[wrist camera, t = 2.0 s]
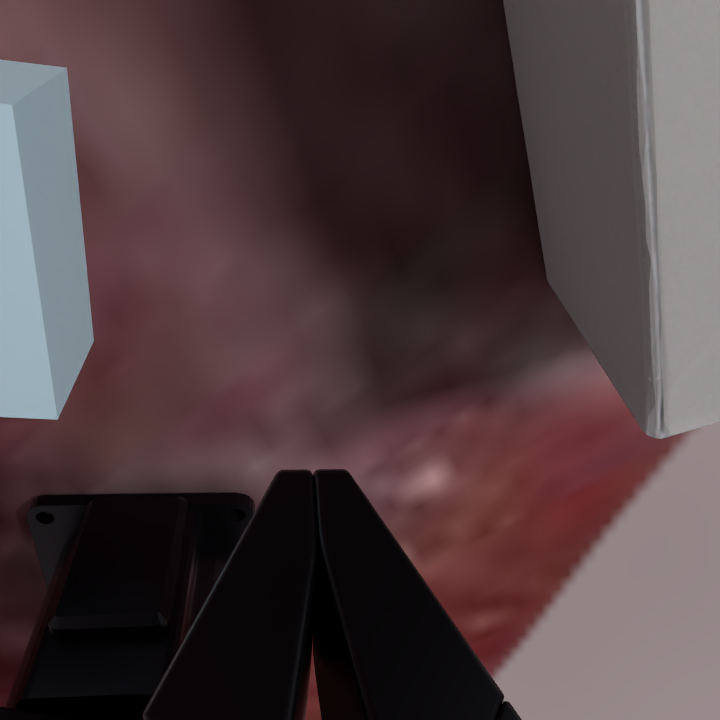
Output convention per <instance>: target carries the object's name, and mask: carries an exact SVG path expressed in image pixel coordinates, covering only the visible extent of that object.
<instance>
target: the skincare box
mask: <svg viewBox="0 0 720 720" xmlns="http://www.w3.org/2000/svg"><path fill="white" fill-rule="evenodd" d="M503 4H504V10H505V17H506V23H507V30H508V36H509V42H510V48H511V54H512V60H513V67H514V74H515V82H516V88H517V94H518V100H519V106H520V112H521V118H522V125H523V131H524V137H525V143H526V150H527V156H528V162H529V168H530V174H531V181H532V187H533V194H534V200H535V207H536V213H537V220H538V227H539V233H540V239H541V245H542V251H543V257H544V263H545V270H546V276H547V280H548V283H549V285H550V286H551V288H552V289H553V291H554V292H555V294H556V295H557V297H558V298H559V300H560V301H561V303H562V304H563V306H564V308H565V309H566V311H567V312H568V314H569V316H570V317H571V319H572V320H573V322H574V323H575V325H576V327H577V328H578V330H579V331H580V333H581V335H582V336H583V338H584V339H585V341H586V342H587V344H588V346H589V347H590V349H591V350H592V352H593V354H594V355H595V357H596V358H597V360H598V361H599V363H600V365H601V366H602V368H603V369H604V371H605V373H606V374H607V376H608V377H609V379H610V380H611V382H612V384H613V385H614V387H615V388H616V390H617V391H618V393H619V395H620V396H621V398H622V399H623V401H624V402H625V404H626V405H627V407H628V408H629V410H630V411H631V413H632V415H633V416H634V418H635V419H636V421H637V422H638V424H639V425H640V427H641V428H642V430H643V432H644V433H646V434H647V435H648V436H650V437H653V438H658V439H662V438H666V437H669V436H673V435H676V434H680V433H683V432H687V431H690V430H694V429H697V428H701V427H704V426H707V425H711V424H714V423H718V422H720V0H503Z"/></svg>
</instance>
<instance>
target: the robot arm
mask: <svg viewBox="0 0 720 720" xmlns="http://www.w3.org/2000/svg"><path fill="white" fill-rule="evenodd" d="M234 509H241V510H242V511H234ZM45 512H48V513H50V514H48V513H45ZM27 520H28V524H29V527H30V530H31V534H32V537H33V541H34V544H35V547H36V551H37V554H38V558H39V561H40V564H41V568H42V571H43V575H44V578H45V581H46V585H47V588H48V589H47V592H46V595H45V598H44V601H43V603H42V606H41V609H40V612H39V614H38V617H37V620H36V623H35V626H34V628H33V631H32V634H31V637H30V640H29V642H28V645H27V648H26V651H25V653H24V656H23V659H22V662H21V665H20V667H19V670H18V673H17V676H16V678H15V681H14V684H13V687H12V690H11V692H10V695H9V698H8V701H7V703H6V706H5V707H0V720H305V718H306V709H307V699H308V689H309V680H310V668H311V655H312V638H313V656H314V665H315V674H316V682H317V689H318V696H319V703H320V710H321V718H322V720H521V718H520V717H519V715H518V714H517V712H516V711H515V710H514V708H513V707H512V705H511V704H510V703H509V702H507V701H505V702H503V699H504V695H503V693H502V691H501V690H500V688H499V687H498V686H497V684H496V683H495V681H494V680H493V678H492V677H491V676H490V674H489V673H488V671H487V670H486V668H485V667H484V665H483V664H482V663H481V661H480V660H479V658H478V657H477V655H476V654H475V653H474V651H473V650H472V648H471V647H470V645H469V644H468V642H467V641H466V640H465V638H464V637H463V635H462V634H461V632H460V631H459V630H458V628H457V627H456V625H455V624H454V622H453V621H452V620H451V618H450V617H449V615H448V614H447V612H446V611H445V609H444V608H443V607H442V605H441V604H440V602H439V601H438V599H437V598H436V597H435V595H434V594H433V592H432V591H431V589H430V588H429V586H428V585H427V584H426V582H425V581H424V579H423V578H422V576H421V575H420V574H419V572H418V571H417V569H416V568H415V566H414V565H413V564H412V562H411V561H410V559H409V558H408V556H407V555H406V553H405V552H404V551H403V549H402V548H401V546H400V545H399V543H398V542H397V541H396V539H395V538H394V536H393V535H392V533H391V532H390V530H389V529H388V528H387V526H386V525H385V523H384V522H383V520H382V519H381V518H380V516H379V515H378V513H377V512H376V510H375V509H374V507H373V506H372V505H371V503H370V502H369V500H368V499H367V497H366V496H365V495H364V493H363V492H362V490H361V489H360V487H359V486H358V485H357V483H356V482H355V480H354V479H353V477H352V476H351V475H350V473H349V472H348V471H346V470H344V469H319V470H316V471H315V472H314V474H313V475H312V473H311V471H309V470H281V471H279V472H278V473H277V474H276V475H275V477H274V479H273V480H272V482H271V484H270V486H269V487H268V489H267V491H266V493H265V495H264V496H263V498H262V500H261V502H260V504H259V505H258V507H257V509H256V511H255V504H254V501H253V500H252V499H251V498H250V497H249V496H247V495H245V494H239V493H226V494H142V495H57V496H40V497H38V498H36V499H34V500H33V502H32V503H31V506H30V508H29V510H28V512H27ZM502 702H503V703H502Z"/></svg>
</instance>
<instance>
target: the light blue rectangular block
mask: <svg viewBox="0 0 720 720" xmlns="http://www.w3.org/2000/svg"><path fill="white" fill-rule="evenodd" d="M93 342H94V338H93V328H92V318H91V308H90V298H89V287H88V277H87V267H86V257H85V247H84V237H83V227H82V217H81V206H80V196H79V186H78V176H77V166H76V156H75V146H74V136H73V126H72V115H71V105H70V95H69V85H68V75H67V68H64V67H56V66H48V65H40V64H32V63H24V62H15V61H7V60H0V417H13V418H34V419H55V420H58V418H59V416H60V413H61V411H62V409H63V407H64V405H65V403H66V400H67V398H68V396H69V394H70V392H71V389H72V387H73V385H74V383H75V381H76V379H77V376H78V374H79V372H80V370H81V368H82V366H83V363H84V361H85V359H86V357H87V355H88V353H89V350H90V348H91V346H92V344H93Z"/></svg>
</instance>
